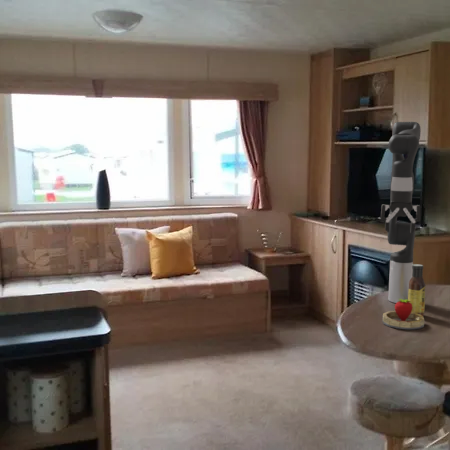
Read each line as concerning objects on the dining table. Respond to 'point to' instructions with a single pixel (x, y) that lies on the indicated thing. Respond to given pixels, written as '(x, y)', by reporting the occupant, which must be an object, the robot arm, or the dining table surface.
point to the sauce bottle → (417, 290)
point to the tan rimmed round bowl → (410, 323)
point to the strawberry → (403, 309)
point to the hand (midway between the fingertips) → (399, 232)
